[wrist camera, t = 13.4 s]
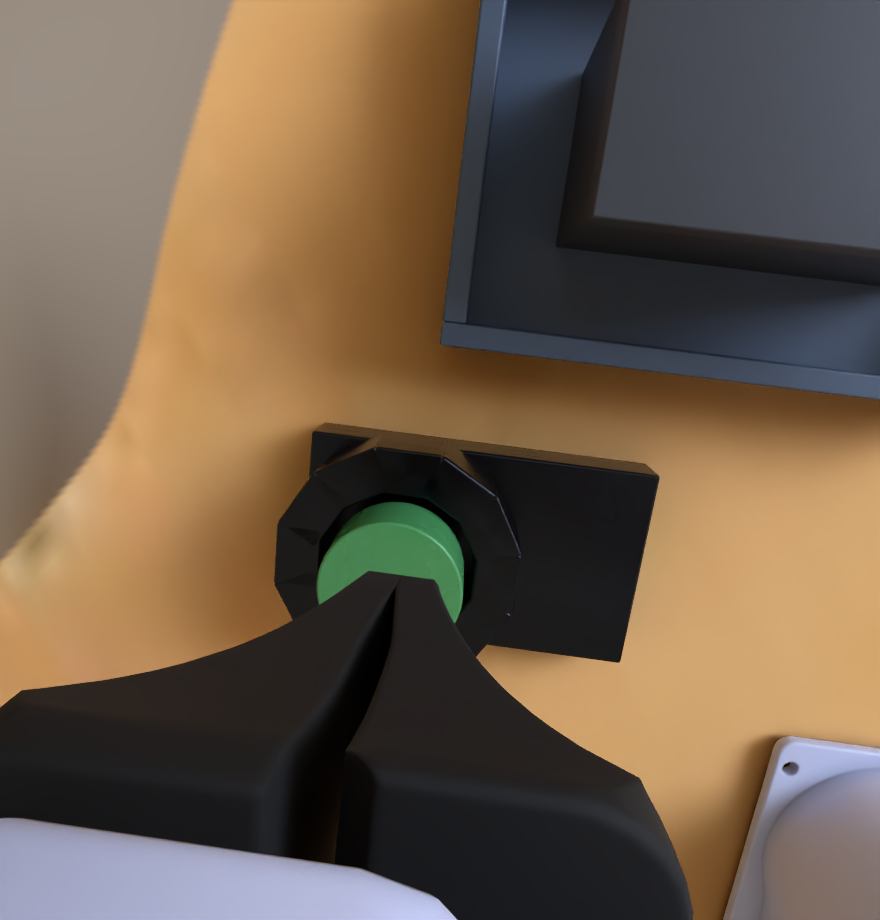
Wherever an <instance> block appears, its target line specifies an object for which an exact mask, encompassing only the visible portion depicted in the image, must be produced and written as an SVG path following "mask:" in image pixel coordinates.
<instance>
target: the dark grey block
mask: <svg viewBox="0 0 880 920" xmlns="http://www.w3.org/2000/svg"><path fill="white" fill-rule="evenodd" d="M556 247H560V248H568V249H576V250H585V251H593V252H601V253H609V254H618V255H626V256H634V257H642V258H651V259H659V260H667V261H675V262H684V263H692V264H700V265H708V266H717V267H725V268H733V269H741V270H750V271H758V272H766V273H774V274H783V275H791V276H799V277H807V278H816V279H824V280H832V281H840V282H849V283H857V284H865V285H873V286H880V0H616V1H615V3H614V6H613V8H612V10H611V12H610V14H609V17H608V19H607V21H606V23H605V25H604V28H603V30H602V32H601V34H600V37H599V39H598V41H597V43H596V45H595V48H594V50H593V52H592V54H591V56H590V59H589V61H588V63H587V65H586V67H585V70H584V72H583V75H582V82H581V88H580V95H579V101H578V107H577V114H576V120H575V126H574V133H573V139H572V145H571V152H570V158H569V164H568V171H567V177H566V183H565V190H564V196H563V202H562V209H561V215H560V221H559V228H558V234H557V241H556Z"/></svg>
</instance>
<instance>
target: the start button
mask: <svg viewBox="0 0 880 920" xmlns="http://www.w3.org/2000/svg"><path fill="white" fill-rule="evenodd" d="M368 571H375V572H382V573H390V574H397V575H404V576H412V577H419V578H427V579H434V580H435V581H436V583H437V584H438V585H439V589H440V593H441V596H442V598H443V601H444V603H445V605H446V608H447V610H448V612H449V614H450V616H451V618H452V620H453V622H454V623H455V622H456V621H457V619H458V616H459V613H460V611H461V606H462V602H463V583H464V558H463V553H462V549H461V546H460V544H459V541H458V539H457V538H456V536H455V534H454V533H453V531H452V530H451V528H450V527H449V526H448V525H447V524H446V523H445V522H444V521H443V520H442V519H441V518H440V517H438V516H437V515H436V514H434V513H433V512H431V511H429V510H427V509H425V508H423V507H421V506H418V505H415V504H410V503H405V502H385V503H380V504H376V505H373V506H370V507H368V508H365V509H363V510H361V511H360V512H358V513H357V514H355V515H354V516H353V517H352V518H351V519H349V520H348V521H347V522H346V524H345V525H344V526H343V527H342V529H341V530H340V532H339V533H338V535H337V537H336V538H335V540H334V541H333V543H332V545H331V546H330V548H329V550H328V551H327V553H326V554H325V556H324V558H323V560H322V562H321V564H320V568H319V571H318V576H317V598H318V602H319V605H320V604H322V603H323V602H325V601H326V600H328V599H329V598H331V597H332V596H333V595H335V594H336V593H338V592H339V591H341V590H342V589H343V588H345V587H346V586H348V585H349V584H350V583H352V582H353V581H355V580H356V579H358V578H359V577H360V576H362V575H363V574H365V573H366V572H368Z"/></svg>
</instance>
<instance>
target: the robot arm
mask: <svg viewBox="0 0 880 920" xmlns="http://www.w3.org/2000/svg"><path fill="white" fill-rule="evenodd" d="M788 762H792V763H791V764H790V765H789V766H787V767H783V765H784V764H786V763H788ZM0 920H693V909H692V904H691V900H690V895H689V891H688V887H687V882H686V879H685V876H684V874H683V871H682V868H681V866H680V863H679V860H678V858H677V855H676V852H675V850H674V847H673V845H672V842H671V840H670V838H669V836H668V834H667V832H666V830H665V827H664V825H663V823H662V821H661V819H660V817H659V815H658V813H657V811H656V809H655V807H654V806H653V804H652V802H651V800H650V798H649V796H648V794H647V792H646V790H645V788H644V786H643V784H642V781H641V780H640V778H638V777H636V776H635V775H633V774H631V773H629V772H627V771H625V770H623V769H621V768H619V767H618V766H616V765H614V764H612V763H610V762H608V761H606V760H604V759H602V758H601V757H599V756H597V755H595V754H593V753H591V752H589V751H587V750H585V749H584V748H582V747H580V746H579V745H577V744H576V743H574V742H573V741H571V740H570V739H568V738H567V737H565V736H563V735H562V734H560V733H559V732H557V731H556V730H554V729H553V728H551V727H550V726H549V725H547V724H546V723H545V722H543V721H542V720H540V719H539V718H538V717H536V716H535V715H534V714H533V713H531V712H530V711H529V710H528V709H527V708H525V707H524V706H523V705H522V704H521V703H520V702H518V701H517V700H516V699H515V698H514V697H512V696H511V695H510V694H509V693H508V692H507V691H506V690H505V689H504V688H503V687H502V686H501V685H500V684H499V683H498V682H497V681H496V680H495V679H494V678H493V677H492V676H491V675H490V673H489V672H488V671H487V670H486V669H485V668H484V667H483V666H482V665H481V663H480V662H479V661H478V659H477V658H476V657H475V655H474V654H473V652H472V651H471V649H470V648H469V647H468V645H467V644H466V642H465V640H464V639H463V637H462V636H461V634H460V632H459V630H458V629H457V627H456V625H455V623H454V622H453V620H452V618H451V616H450V614H449V612H448V610H447V608H446V605H445V603H444V601H443V598H442V596H441V593H440V589H439V585H438V584H437V583H436V581H435V580H434V579H427V578H419V577H412V576H404V575H397V574H390V573H382V572H375V571H368V572H366V573H365V574H363V575H362V576H360V577H359V578H358V579H356V580H355V581H353V582H352V583H350V584H349V585H348V586H346V587H345V588H343V589H342V590H341V591H339V592H338V593H336V594H335V595H333V596H332V597H331V598H329V599H328V600H326V601H325V602H323V603H322V604H320V605H318V606H317V607H315V608H313V609H311V610H310V611H308V612H306V613H304V614H303V615H301V616H299V617H298V618H296V619H294V620H292V621H291V622H289V623H287V624H285V625H283V626H281V627H279V628H277V629H275V630H273V631H271V632H269V633H267V634H265V635H262V636H260V637H258V638H255V639H253V640H250V641H248V642H246V643H243V644H241V645H238V646H236V647H233V648H230V649H227V650H224V651H221V652H218V653H214V654H211V655H208V656H205V657H202V658H199V659H196V660H193V661H189V662H186V663H183V664H179V665H175V666H171V667H167V668H163V669H158V670H154V671H150V672H145V673H140V674H135V675H130V676H125V677H120V678H114V679H108V680H103V681H95V682H87V683H80V684H72V685H64V686H56V687H49V688H41V689H30V690H22V691H20V692H19V693H18V694H17V695H15V696H14V697H13V698H11V699H10V700H9V701H8V702H7V703H5V704H4V705H3V706H2V707H1V708H0ZM723 920H880V748H875V747H868V746H860V745H853V744H846V743H839V742H832V741H824V740H817V739H810V738H803V737H795V736H786V737H783V738H781V739H779V740H778V741H777V742H776V743H775V745H774V747H773V751H772V754H771V758H770V761H769V764H768V768H767V771H766V775H765V778H764V781H763V785H762V788H761V792H760V795H759V799H758V802H757V805H756V809H755V812H754V816H753V819H752V822H751V826H750V829H749V833H748V836H747V839H746V843H745V846H744V850H743V853H742V856H741V860H740V863H739V867H738V870H737V874H736V877H735V880H734V884H733V887H732V891H731V894H730V897H729V901H728V904H727V908H726V911H725V914H724V918H723Z"/></svg>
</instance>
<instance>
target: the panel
mask: <svg viewBox="0 0 880 920" xmlns="http://www.w3.org/2000/svg"><path fill="white" fill-rule="evenodd" d="M658 483H659V476H658V475H657V474H656V473H655V472H654V471H653V470H652V469H650V468H649V467H648V466H647V465H646V464H643V463H635V462H627V461H619V460H612V459H604V458H596V457H588V456H580V455H573V454H565V453H557V452H549V451H542V450H534V449H526V448H518V447H510V446H503V445H495V444H487V443H479V442H472V441H464V440H456V439H448V438H441V437H433V436H425V435H417V434H409V433H402V432H394V431H386V430H378V429H371V428H363V427H355V426H347V425H340V424H332V423H324V424H323V425H321V426H320V427H318V428H317V429H316V430H314V431H313V432H312V442H311V456H310V470H309V479H308V481H307V482H306V484H305V485H304V486H303V488H302V489H301V491H300V492H299V493H298V495H297V496H296V497H295V499H294V500H293V502H292V503H291V504H290V506H289V507H288V509H287V510H286V511H285V513H284V514H283V515H282V517H281V518H280V520H279V523H278V524H277V541H276V558H275V575H274V582H275V586H276V588H277V590H278V592H279V594H280V596H281V598H282V600H283V602H284V604H285V606H286V607H287V609H288V611H289V613H290V615H291V617H292V619H293V620H294V619H296V618H298V617H299V616H301V615H303V614H304V613H306V612H308V611H310V610H311V609H313V608H315V607H317V606H318V605H319V602H318V598H317V576H318V571H319V568H320V564H321V562H322V560H323V558H324V556H325V554H326V553H327V551H328V550H329V548H330V546H331V545H332V543H333V541H334V540H335V538H336V537H337V535H338V533H339V532H340V530H341V529H342V527H343V526H344V525H345V524H346V522H347V521H348V520H349V519H351V518H352V517H353V516H354V515H355V514H357V513H358V512H360V511H361V510H363V509H365V508H368V507H370V506H373V505H376V504H380V503H385V502H405V503H410V504H415V505H418V506H421V507H423V508H425V509H427V510H429V511H431V512H433V513H434V514H436V515H437V516H438V517H440V518H441V519H442V520H443V521H444V522H445V523H446V524H447V525H448V526H449V527H450V528H451V530H452V531H453V533H454V534H455V536H456V538H457V539H458V541H459V544H460V546H461V549H462V553H463V558H464V583H463V602H462V606H461V611H460V613H459V616H458V619H457V621H456V622H455V625H456V627H457V629H458V630H459V632H460V634H461V636H462V637H463V639H464V640H465V642H466V644H467V645H468V647H469V648H470V649H471V651H472V652H473V654H474V655H475V657H476V656H477V655H478V654H479V653H480V652H481V650H482V649H483V648H484V647H485V646H486V645H493V646H501V647H508V648H515V649H523V650H530V651H537V652H545V653H552V654H559V655H566V656H574V657H581V658H588V659H596V660H603V661H610V662H620V660H621V656H622V651H623V646H624V642H625V637H626V632H627V628H628V623H629V618H630V614H631V609H632V604H633V600H634V595H635V590H636V586H637V581H638V576H639V572H640V567H641V562H642V558H643V553H644V548H645V544H646V539H647V534H648V530H649V525H650V520H651V516H652V511H653V506H654V502H655V497H656V492H657V488H658Z"/></svg>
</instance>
